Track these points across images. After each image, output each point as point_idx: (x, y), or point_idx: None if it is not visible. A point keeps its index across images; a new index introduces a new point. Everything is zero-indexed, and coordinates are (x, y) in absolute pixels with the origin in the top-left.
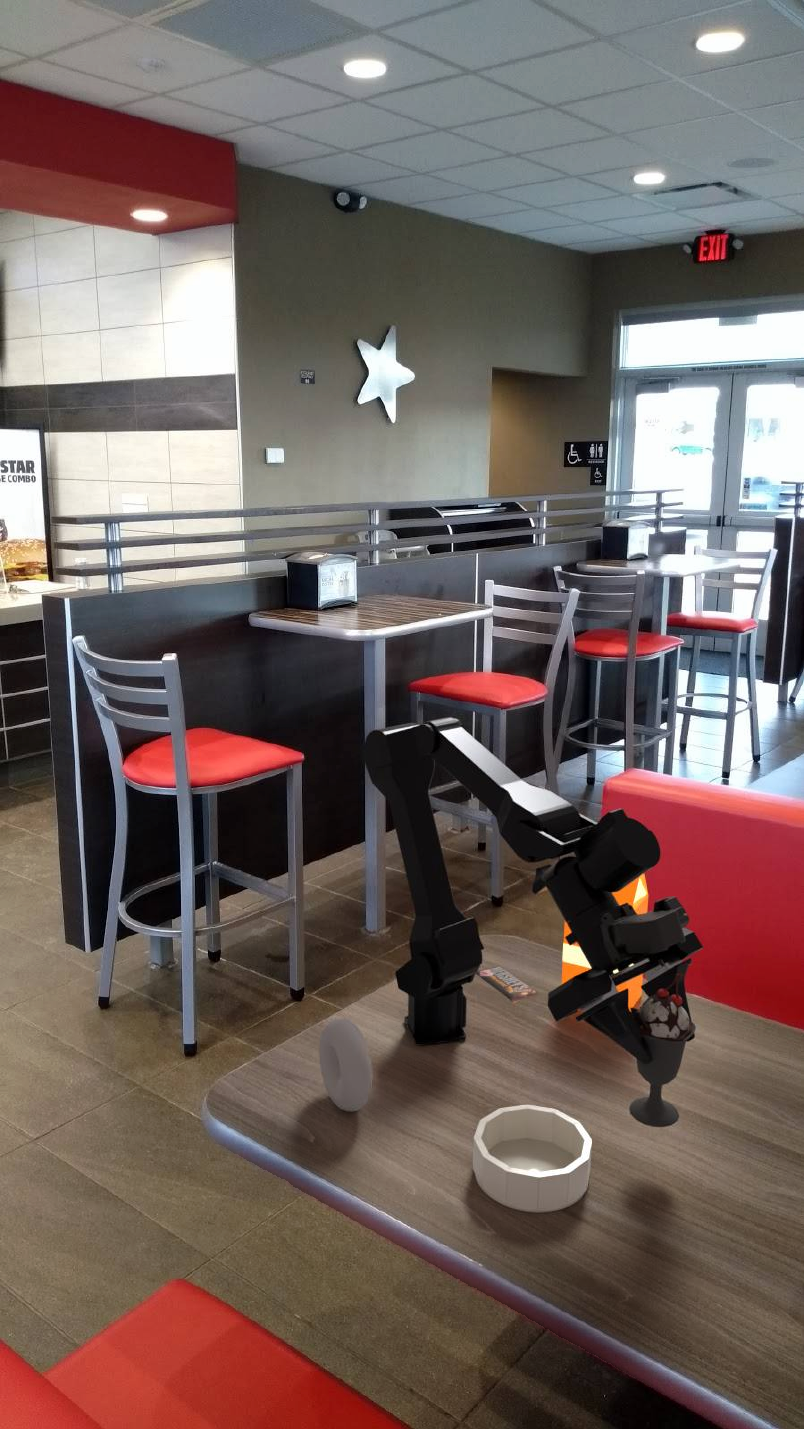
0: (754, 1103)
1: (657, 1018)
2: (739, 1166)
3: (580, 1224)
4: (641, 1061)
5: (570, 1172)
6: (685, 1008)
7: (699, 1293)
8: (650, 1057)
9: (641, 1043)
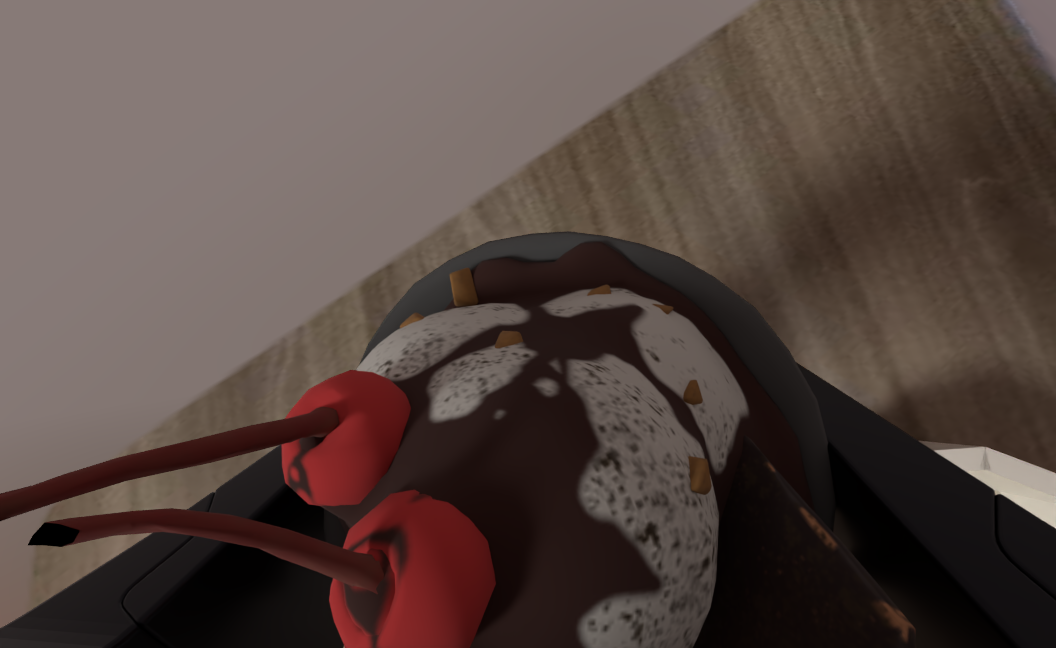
0: (281, 419)
1: (684, 419)
2: None
3: (916, 384)
4: None
5: (974, 447)
6: (273, 470)
7: (829, 125)
8: None
9: (858, 412)
